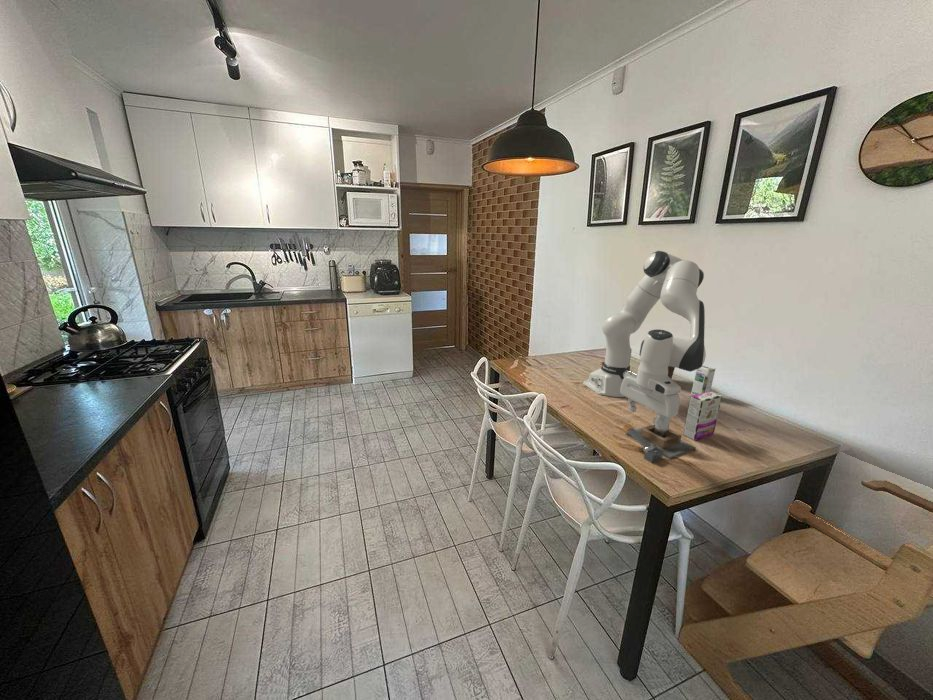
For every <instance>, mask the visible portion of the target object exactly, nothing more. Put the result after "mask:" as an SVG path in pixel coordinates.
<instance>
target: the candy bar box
mask: <svg viewBox="0 0 933 700" xmlns="http://www.w3.org/2000/svg"><path fill="white" fill-rule="evenodd" d="M722 398H723V395H721V394H719V393H715V392H713V391H711V390H710V391H709V392H705V393H701V394H697V395H690V399H689V403H688V408H687V413H686V418H685V422H684V423H685V424H684V429H683V434H682V435H683V436H685V437H687V438H689V439H691V440H692V441H698V440H701V439H705V438H707V437H711V436H713V435H714V434H715V430H716V425H717V420H718V416H719V411H720V407H721V402H722Z"/></svg>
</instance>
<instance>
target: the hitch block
mask: <svg viewBox="0 0 933 700" xmlns="http://www.w3.org/2000/svg"><path fill="white" fill-rule="evenodd" d="M654 429H655V424H650V425H647V426H643V427H639V428H636V429H635V430H636V431H637V432H638V433H639V434H640V435H641V436H642V437H643V438H644V439H645V440H646V441H648V442H649V443H650V444H651V445H650V446H652V445H656V446H657V448H658V449H660V450H661V451H663V455H662V457H663V456H664V457H665V458H667V459H668V460H670V459H673V458H675V457H679V456H682V455H684V454H686V453H689V452H693V451H694V450H696V448H697V447H695V446H694V445H692V444H689V443H688V442H686V441H684V440H681V439H682V435H683V434H680V433H678V432H676V431H674V430H672V429H670V428H669V429H668V435H667V437H665V438H662V437H660V436H659V435H657V434H655V433H654ZM625 435H626V436H628V437H630V438H632V439H633V440H634V441H637V440H636V439H635V438H634V437H633V436H632V435H631V434H630V433H628V432H627V431H626V432H625Z"/></svg>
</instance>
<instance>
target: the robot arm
mask: <svg viewBox="0 0 933 700" xmlns="http://www.w3.org/2000/svg"><path fill="white" fill-rule="evenodd" d="M643 273H644V274H645V275H644V276H642V278H641V279H640V280H639V281H638V283H637V284H636V285H635V287H634V288H633V289H632V291H631V292H630V293H629V295H628V296H627V297H626V302H625V304H624V305H623V308H622V309H621V310H620V311H619V312H618V313H616V314H613V315H610V316H609V317H608V318H607V319H605V320H604V321H603V324H602V326H601V327H602V328H601V329H602V332H603V334H604V337H605V344H606V350H605V357H604V361H602V362H600V364H599V365H600V366H601V367H599V368H598V369H596V370H594V371H592V372H591V373H589V375H588V378H587V379H586V380H584V381H583V383H582V384H583V386H586V387H587V388H589V389H590V390H591V391H593V392H594V393H596V394H597V395H599V396H609V397H612V398H613V397H615V398H624V397H626V398H627V403H628V407H629V409H628V411H630V412H631V413H635V412H637V408H638V407H637V406H636V404H635V403H638V404H640V405H642V406H643V407H646V408H647V409H649V410H651V411H654V412H656V417H653V418H652V423H653V425H655V424H656V425H658V424H660V420H661V419H662V418H663V417H664V416H665V417H667V418H670V417H671V418H673V417H676V416H678V414H679V410H680V409H679V408H680V402H681V401H680V400H681V397H680V394H679V393H681V391H682V387H681V386H680V385H679V384H678V383H677V382H675V380H673V379H671V378H670V377H668V366H671V367H675V368H677V369H679V370H683V371H686V372H693V371H696V370H697V369H699V368H701V367H702V365H704V363H705V361H706V356H707V355H706V347H705V327H706V326H705V324H706V323H705V321H706V320H705V319H706V318H705V311H706V309H705V304H704V302H703V301H702V300H700V299H699V298H698V295H697V291H698V289H699V287H700V286H701V284H702V282H703V280H704V278H705V273H704V271H703V269H700V267H699V266H698V264H697V263H695V262H694V261H691V260H688V259H687V260H686V259H683V258H680V257H678V256H675V255H674V254H669V253H668V252H666V251H663V250H662V251H661V250H656V251H653V252H652V253H650V255H649V256H648V257H647V258H646V260H645V262H644V265H643ZM659 300H660V303H661V304H662V305H663V306H664V308H665V309H666V310H668V311H670V312H671V313H674V314H676V315H678V316H681V317H682V318H685V319H686V320H687V321H689V325H690V335H689V336H690V337H689V338H687V339H683V338H678V337H674V334H672V333H671V332H670V331H668V330H665V329H657V328H656V329H652V330H651V329H650V330H649V331H648V332H647V333H646V335H645V338H644V339H643V340H642V341H641V343H640V349H639V353H638V354H639V356H640V363H639V366H638V368H637V372H634V371H633V370H631V358H632V347H631V343H630V342H631V341H630V339H631V338H630V336H631V335H632V334H634V333H636V332H638V330H639V329H640V327H641V326H642V324H643V322H644V321H645V319H646V318H647V316H648V315H649V313H650V311H651V310H652V309H653V307H655V305H656V304H657V302H658V301H659ZM657 415H658V417H657Z"/></svg>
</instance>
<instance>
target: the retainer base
mask: <svg viewBox="0 0 933 700" xmlns="http://www.w3.org/2000/svg"><path fill="white" fill-rule="evenodd" d="M642 451H643V453H644V456H643V459H644V460H646V461H648V462H649V463H651V464H653V463H655V462H659V461H661V460H662V459H663V451H661V450H660V449H658V448H657V446H656V445H652V446H649V447H646V448H644V447H643V449H642Z"/></svg>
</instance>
